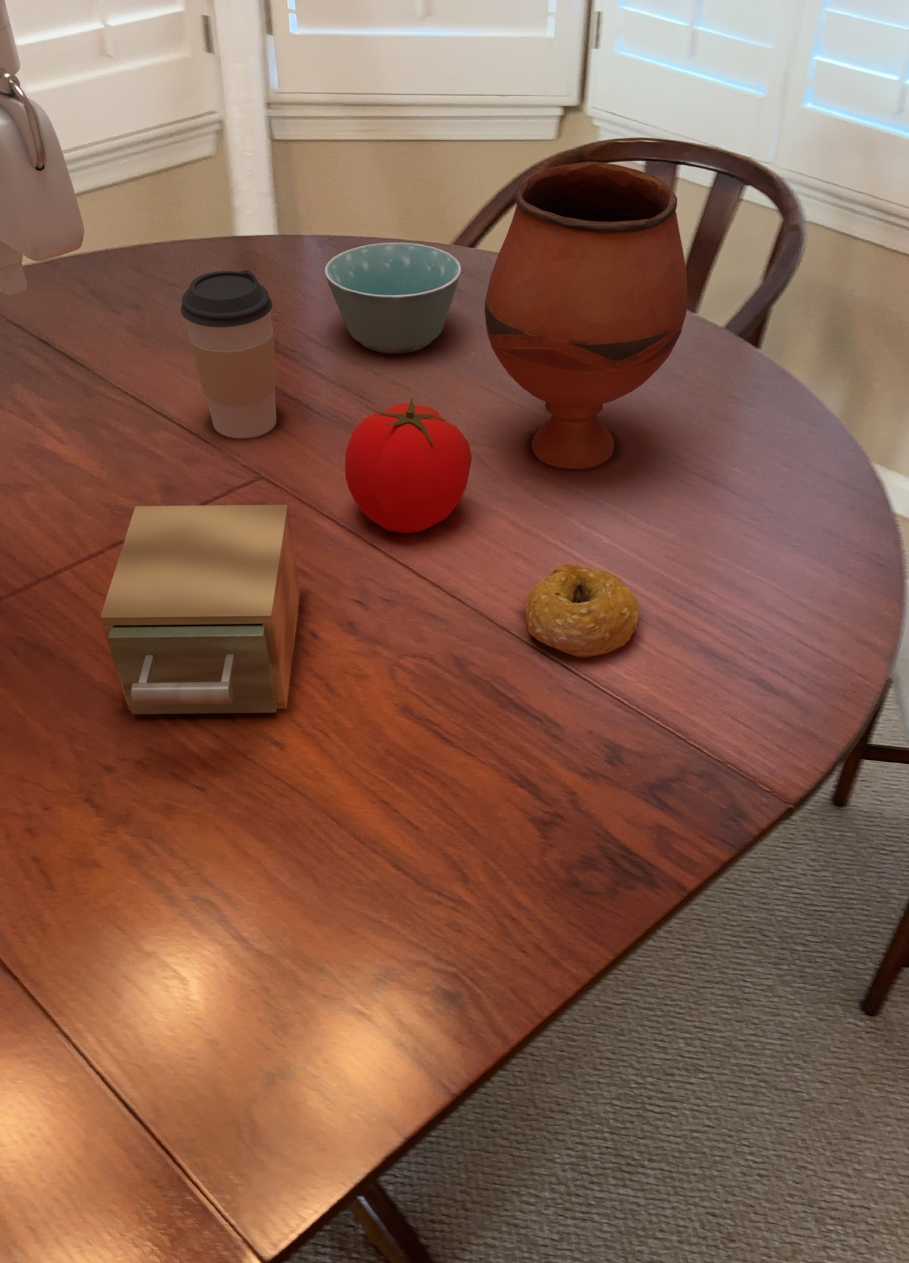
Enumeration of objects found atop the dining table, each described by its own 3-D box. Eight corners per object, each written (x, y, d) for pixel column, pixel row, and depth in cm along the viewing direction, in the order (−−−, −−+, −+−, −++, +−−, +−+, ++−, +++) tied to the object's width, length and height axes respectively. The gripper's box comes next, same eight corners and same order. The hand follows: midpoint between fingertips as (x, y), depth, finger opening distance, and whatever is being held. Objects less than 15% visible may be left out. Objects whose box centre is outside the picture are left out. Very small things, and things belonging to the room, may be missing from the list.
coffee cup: (227, 454, 111) (202, 309, 100) (188, 418, 116) (159, 276, 105) (302, 428, 115) (286, 284, 104) (261, 394, 120) (241, 254, 108)
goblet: (504, 510, 105) (515, 240, 86) (465, 413, 117) (467, 159, 98) (689, 489, 107) (740, 223, 88) (632, 396, 120) (665, 145, 101)
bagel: (652, 602, 95) (660, 557, 91) (617, 678, 88) (624, 633, 85) (546, 576, 97) (550, 532, 94) (505, 649, 91) (507, 604, 87)
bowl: (338, 308, 134) (332, 238, 128) (462, 310, 134) (463, 240, 128) (323, 367, 124) (316, 294, 118) (458, 370, 124) (458, 297, 117)
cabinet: (286, 710, 86) (271, 615, 78) (129, 712, 86) (99, 617, 78) (300, 598, 95) (287, 504, 88) (159, 599, 95) (135, 505, 88)
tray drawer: (270, 756, 81) (256, 679, 75) (120, 758, 81) (94, 681, 75) (290, 606, 93) (279, 529, 87) (159, 607, 93) (139, 531, 87)
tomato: (344, 550, 100) (334, 441, 92) (352, 483, 108) (344, 377, 99) (471, 551, 100) (472, 442, 92) (471, 484, 108) (472, 377, 99)
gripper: (76, 67, 57) (132, 324, 68) (-94, -4, 67) (-22, 230, 77) (-33, 90, 54) (42, 355, 65) (-194, 12, 64) (-106, 254, 74)
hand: (6, 287), depth 71 cm, fingers closed
